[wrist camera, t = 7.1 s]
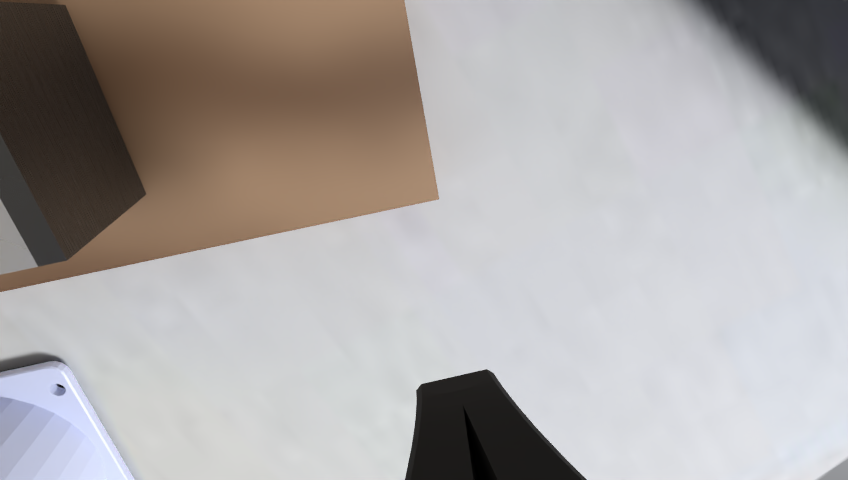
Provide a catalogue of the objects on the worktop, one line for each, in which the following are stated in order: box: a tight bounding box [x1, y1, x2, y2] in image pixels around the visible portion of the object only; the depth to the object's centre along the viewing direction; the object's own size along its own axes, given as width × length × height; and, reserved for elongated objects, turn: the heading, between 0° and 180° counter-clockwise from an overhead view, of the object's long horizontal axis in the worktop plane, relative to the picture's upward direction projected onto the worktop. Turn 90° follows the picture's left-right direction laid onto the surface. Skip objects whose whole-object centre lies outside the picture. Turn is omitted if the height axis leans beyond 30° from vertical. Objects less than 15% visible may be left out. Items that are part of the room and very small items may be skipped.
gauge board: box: [0, 0, 439, 292], centre depth 12 cm, size 9×18×6 cm, turn 100°
